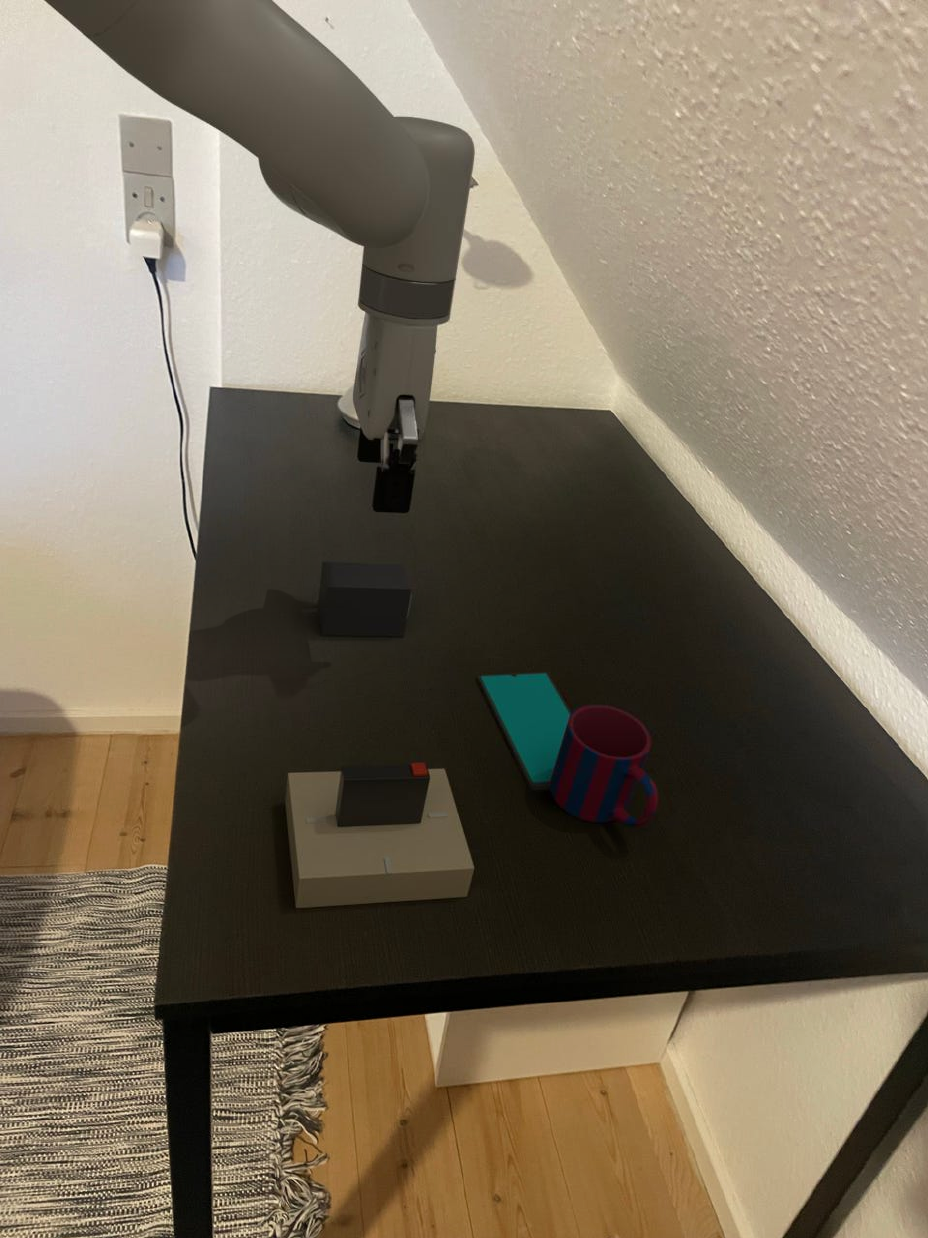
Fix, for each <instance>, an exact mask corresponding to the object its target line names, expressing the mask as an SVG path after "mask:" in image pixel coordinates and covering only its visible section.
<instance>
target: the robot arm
mask: <svg viewBox="0 0 928 1238" xmlns="http://www.w3.org/2000/svg"><path fill="white" fill-rule="evenodd" d="M43 1H44V2H45V3H47V5H49V6H50V7H51V8H52V9H54V10H55V11H56V12H57V13H58V14H59V15H61V17H63V18H64V19H65V20H66V21H67V22H69V23H70V24H71V25H72V26H73V27H74V28H76V30H78V31H79V32H80V33H81V34H82V35H83V36H84V37H85V38H87V39H88V40H89V41H90V42H91V43H93V44H94V45H95V47H97V48H98V49H99V50H100V51H101V52H103V53H104V54H105V55H106V56H107V57H109V59H110V60H112V61H113V62H114V63H115V64H117V65H118V67H120V68H121V69H122V70H124V71H125V72H126V73H127V74H128V75H130V76H131V77H133V78H134V79H135V80H137V81H138V82H140V83H141V84H142V85H144V86H145V87H147V88H148V89H149V90H151V91H152V92H153V93H154V94H156V95H158V96H159V97H161V98H162V99H164V100H165V101H167V102H168V103H170V104H172V105H174V106H175V107H177V108H178V109H180V110H183V111H184V112H186V113H188V114H189V115H191V116H193V117H195V118H197V119H199V120H200V121H202V122H203V123H206V124H207V125H209V126H211V127H213V128H214V129H216V130H217V131H219V132H221V133H222V134H224V135H225V136H226V137H228V138H230V139H231V140H232V141H234V142H235V143H237V144H238V145H240V146H241V147H243V148H244V149H245V150H247V151H248V152H249V153H250V154H252V155H253V156H255V157H256V158H257V159H258V166H259V169H260V173H261V176H262V178H263V181H264V183H265V184H266V186H267V188H268V189H269V190H270V191H271V193H272V194H273V195H274V196H275V198H276V199H277V200H278V201H280V202H281V203H282V204H283V205H285V206H286V207H287V208H289V209H290V210H292V211H293V212H295V213H297V214H299V215H301V216H303V217H305V218H306V219H308V220H310V221H312V222H314V223H316V224H318V225H320V226H322V227H324V228H326V229H327V230H329V231H331V232H333V233H334V234H336V235H339V236H340V237H342V238H344V239H345V240H347V241H348V242H351V243H353V244H356V245H358V246H361V247H363V249H362V258H361V259H362V261H361V268H360V279H359V287H358V288H359V289H358V297H357V306H358V308H359V309H360V310H361V311H363V312H364V317H363V322H362V329H361V335H360V340H359V348H358V356H357V361H356V368H355V375H354V382H353V389H352V390H353V391H352V403H353V407H354V411H355V413H356V416H357V420H358V422H359V423H358V424H359V425H360V426H359V433H358V434H359V435H358V443H357V452H356V453H357V454H356V457H357V461H358V462H360V463H373V464H380V466H376V471H375V480H374V487H373V496H372V504H371V507H372V510H373V512H375V513H390V514H407V513H409V512H410V510H411V503H412V498H413V492H414V491H413V490H414V484H415V483H414V482H415V476H416V470H417V461H418V460H417V457H418V454H417V449H418V445H419V442H420V441H421V440H422V439H423V437H424V434H425V430H426V425H427V421H428V414H429V408H430V401H431V394H432V385H433V377H434V368H435V358H436V353H437V349H436V348H437V347H436V346H437V336H438V326H440V325H443V324H446V323H448V322H449V321H450V320H451V313H452V309H453V300H454V296H455V295H454V294H455V288H456V281H457V274H458V268H459V267H458V266H459V261H460V255H461V249H462V243H463V237H464V231H465V230H464V229H465V224H466V217H467V212H468V211H467V210H468V204H469V198H470V190H471V185H472V178H473V173H474V165H475V155H476V151H475V148H476V147H475V143H474V141H473V138H472V137H471V136H470V135H469V132H467V131H465V130H464V129H462V128H461V127H458V126H455V125H453V124H450V123H446V122H442V121H438V120H433V119H428V118H423V117H414V116H401V115H400V116H394V115H393V114H392V112H391V111H390V110H389V109H388V108H387V107H386V105H384V104H383V103H382V101H380V99H379V98H378V97H377V96H376V94H375V93H374V92H373V91H372V90H371V89H370V88H369V87H368V86H367V85H366V84H365V83H364V82H363V81H362V80H361V79H360V77H359V76H358V75H356V73H355V72H353V70H352V69H350V68H349V67H348V65H346V63H344V62H343V61H342V59H340V58H339V57H338V56H337V55H336V54H335V53H334V52H332V51H331V50H330V49H329V48H328V47H327V46H326V45H324V44H323V43H322V41H320V40H319V39H318V38H317V37H315V36H314V35H313V34H312V33H311V32H309V31H308V30H307V29H306V28H305V27H304V26H302V24H301V23H299V22H298V21H297V20H296V19H294V18H293V17H292V16H290V15H289V13H288V12H287V11H285V10H284V9H283V8H281V7H280V6H279V5H278V4H277V3H276V2H275V1H274V0H43ZM396 430H398V432H396ZM395 445H397V448H394V446H395Z"/></svg>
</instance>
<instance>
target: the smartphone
mask: <svg viewBox="0 0 928 1238" xmlns="http://www.w3.org/2000/svg"><path fill="white" fill-rule="evenodd" d="M476 682H477V683H478V685H479V688H480V690H481V692H482V695H483V696H484V698H485V700H486V702H487V704H488V707H489V708H490V710H491V713H492V714H493V716H494V718H495V721H496V723H497V725H498V727H499V729H500V731H501V733H502V735H503V737H504V739H505V741H506V743H507V745H508V748H509V749H510V752H511V753H512V755H513V757H514V759H515V762H516V764H517V766H518V768H519V770H520V772H521V774H522V776H523V779H524V780H525V782H526V784H527V787H528V788H529V790H531V791H536V792H537V791H546V790H547V791H548V790H550V779H551V776H552V773H553V769H554V766H555V763H556V759H557V756H558V753H559V749H560V746H561V743H562V740H563V736H564V733H565V730H566V726H567V723H568V720H569V717H570V715H571V714H572V711H571V709H570V707H569V706H568V704H567V702H566V701H565V699H564V697H563V696H562V694H561V692H560V691H559V688H558V687H557V685H556V684H555V682H554V680H553V678H552V677H551V675H550V673H548V672H546V671H533V672H509V673H491V674H490V673H489V674H487V673H486V674H478V675H477V679H476Z"/></svg>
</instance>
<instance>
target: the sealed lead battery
mask: <svg viewBox="0 0 928 1238" xmlns="http://www.w3.org/2000/svg"><path fill="white" fill-rule="evenodd" d="M428 769H429V768H428V764H427V763H426V762H410V763H406V764H405V763H404V764H403V763H402V764H366V765H365V764H363V765H362V764H361V765H342V766H341V769H340V771H341V775H340V782H339V790H338V797H337V804H336V811H335V814H336V820H337V826H338V827H348V826H371V825H394V824H417V823H421V820H422V815H423V810H424V805H425V801H426V796H427V791H428V786H429V781H430V774H429V771H428Z"/></svg>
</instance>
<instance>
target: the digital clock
mask: <svg viewBox="0 0 928 1238" xmlns="http://www.w3.org/2000/svg"><path fill="white" fill-rule="evenodd" d="M319 581H320V583H319V590H318V598H317V599H318V600H317V609H316V610H317V616H318V621H319V627H320V632H321V636H323V637H381V638H382V637H383V638H384V637H386V638H387V637H388V638H390V637H393V638H404V636H405V630H406V626H407V620H408V618H409V613H410V609H411V603H412V599H413V598H412V597H413V595H412V591H413V590H412V589H413V588H412V586H411V583H410V579H409V576H408V574H407V570H406V567H405V565H404V564H400V563H375V562H374V563H373V562H371V563H370V562H344V561H343V562H342V561H322V563H321V571H320V580H319Z"/></svg>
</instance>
